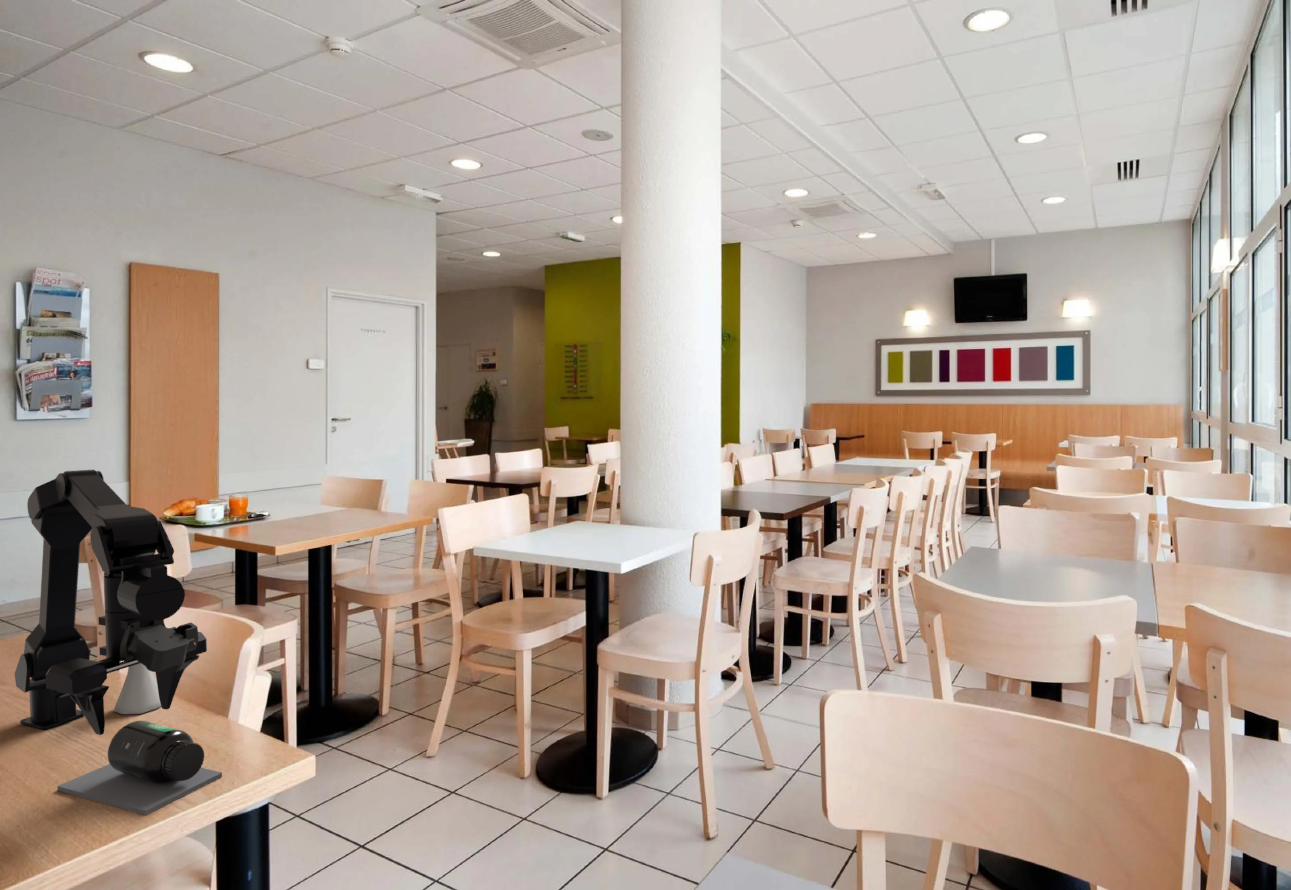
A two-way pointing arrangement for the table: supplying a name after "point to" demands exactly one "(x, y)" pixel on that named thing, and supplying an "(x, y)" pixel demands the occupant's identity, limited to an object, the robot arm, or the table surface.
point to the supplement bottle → (155, 752)
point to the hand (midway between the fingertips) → (134, 721)
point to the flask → (138, 692)
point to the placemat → (134, 789)
